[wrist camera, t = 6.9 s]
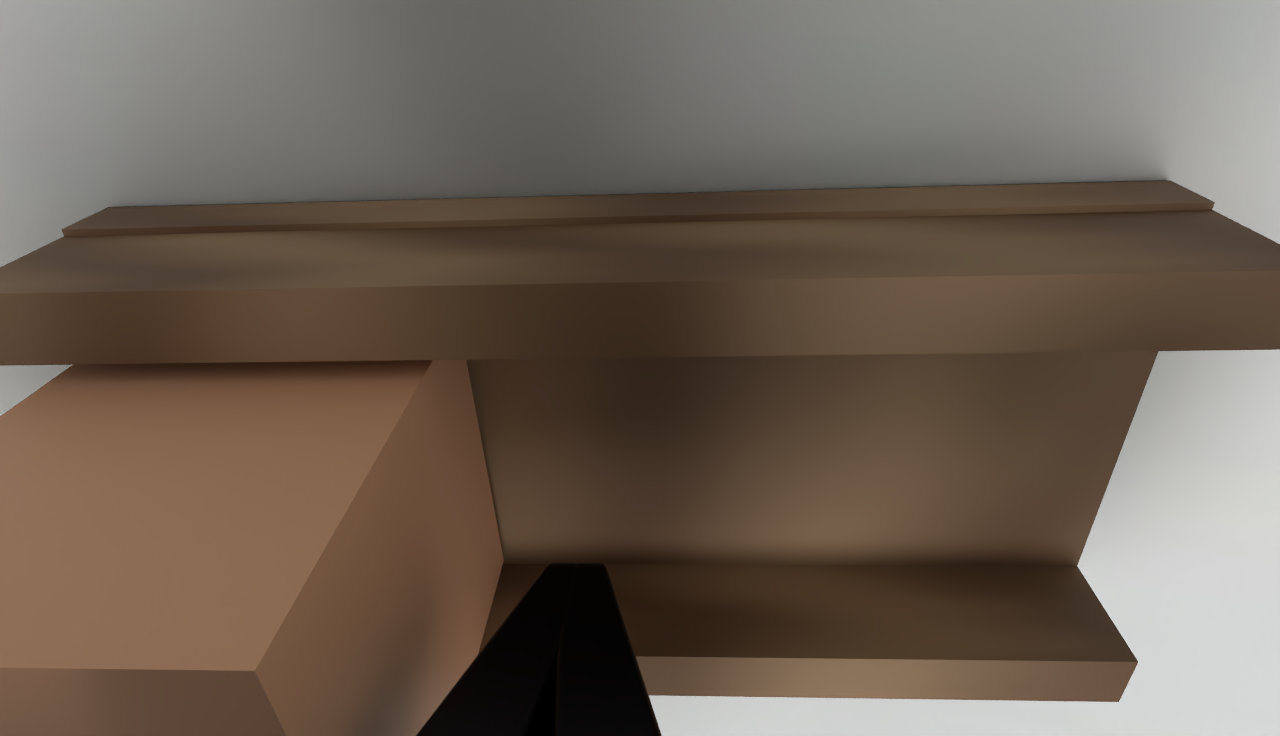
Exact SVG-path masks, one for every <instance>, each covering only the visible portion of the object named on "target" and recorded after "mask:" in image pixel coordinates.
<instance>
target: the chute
mask: <svg viewBox="0 0 1280 736" xmlns="http://www.w3.org/2000/svg"><path fill="white" fill-rule="evenodd" d="M1214 203H1215V202H1213V201H1211V200H1209V199H1207V198H1205V197H1203V196H1200V195H1198V194H1196V193H1194V192H1192V191H1190V190H1188V189H1186V188H1184V187H1182V186H1180V185H1178V184H1176V183H1174V182H1172V181H1132V182H1093V183H1053V184H1014V185H974V186H935V187H895V188H856V189H816V190H777V191H738V192H698V193H659V194H619V195H580V196H540V197H501V198H461V199H422V200H382V201H343V202H303V203H264V204H224V205H185V206H145V207H108V208H106V209H104V210H102V211H100V212H98V213H95V214H93V215H91V216H89V217H87V218H85V219H83V220H81V221H79V222H77V223H74V224H72V225H70V226H68V227H66V228H64V229H62V232H63V234H64V237H62V238H60V239H58V240H56V241H54V242H52V243H50V244H48V245H46V246H44V247H42V248H40V249H38V250H35V251H33V252H31V253H29V254H27V255H25V256H23V257H21V258H19V259H17V260H15V261H13V262H11V263H9V264H7V265H5V266H3V267H1V268H0V365H70V364H150V363H230V362H310V361H390V360H466V361H467V367H468V372H469V377H470V382H471V388H472V393H473V398H474V404H475V409H476V414H477V420H478V425H479V430H480V436H481V441H482V446H483V452H484V457H485V462H486V468H487V473H488V478H489V483H490V489H491V494H492V499H493V505H494V510H495V515H496V521H497V526H498V531H499V537H500V542H501V547H502V553H503V558H504V562H503V565H502V569H501V573H500V576H499V580H498V584H497V587H496V591H495V595H494V598H493V602H492V605H491V609H490V613H489V616H488V620H487V624H486V627H485V631H484V634H483V638H482V642H481V645H480V649H479V653H480V651H481V650H482V649H483V648H484V646H485V645H486V644H487V642H488V641H489V640H490V638H491V637H492V636H493V635H494V633H495V632H496V631H497V629H498V628H499V627H500V625H501V624H502V623H503V621H504V620H505V619H506V618H507V616H508V615H509V614H510V612H511V611H512V610H513V608H514V607H515V606H516V605H517V603H518V602H519V601H520V599H521V598H522V597H523V595H524V594H525V593H526V592H527V590H528V589H529V588H530V586H531V585H532V584H533V582H534V581H535V580H536V578H537V577H538V576H539V575H540V573H541V572H542V571H543V569H544V568H545V567H546V566H547V565H548V564H549V563H551V562H577V563H578V562H602V563H604V564H605V565H606V566H607V569H608V572H609V575H610V578H611V581H612V584H613V587H614V591H615V594H616V597H617V600H618V603H619V606H620V609H621V612H622V615H623V618H624V621H625V625H626V628H627V631H628V634H629V637H630V640H631V643H632V646H633V649H634V652H635V655H636V659H637V662H638V665H639V668H640V671H641V674H642V677H643V680H644V683H645V686H646V689H647V693H648V695H672V696H743V697H814V698H885V699H957V700H1028V701H1099V702H1119V700H1120V698H1121V696H1122V694H1123V692H1124V690H1125V688H1126V686H1127V684H1128V682H1129V680H1130V678H1131V676H1132V674H1133V672H1134V670H1135V667H1136V665H1137V663H1138V661H1137V659H1136V658H1135V656H1134V655H1133V653H1132V652H1131V650H1130V648H1129V647H1128V645H1127V644H1126V642H1125V641H1124V639H1123V637H1122V636H1121V634H1120V633H1119V631H1118V630H1117V628H1116V626H1115V625H1114V623H1113V622H1112V620H1111V619H1110V617H1109V615H1108V614H1107V612H1106V611H1105V609H1104V608H1103V606H1102V605H1101V603H1100V601H1099V600H1098V598H1097V597H1096V595H1095V594H1094V592H1093V590H1092V589H1091V587H1090V586H1089V584H1088V583H1087V581H1086V579H1085V578H1084V576H1083V575H1082V573H1081V572H1080V570H1079V568H1078V567H1077V565H1078V562H1079V559H1080V557H1081V554H1082V551H1083V549H1084V546H1085V543H1086V541H1087V538H1088V535H1089V533H1090V530H1091V528H1092V525H1093V522H1094V520H1095V517H1096V514H1097V512H1098V509H1099V506H1100V504H1101V501H1102V499H1103V496H1104V493H1105V491H1106V488H1107V485H1108V483H1109V480H1110V477H1111V475H1112V472H1113V469H1114V467H1115V464H1116V462H1117V459H1118V456H1119V454H1120V451H1121V448H1122V446H1123V443H1124V440H1125V438H1126V435H1127V433H1128V430H1129V427H1130V425H1131V422H1132V419H1133V417H1134V414H1135V411H1136V409H1137V406H1138V404H1139V401H1140V398H1141V396H1142V393H1143V390H1144V388H1145V385H1146V382H1147V380H1148V377H1149V374H1150V372H1151V369H1152V367H1153V364H1154V361H1155V359H1156V356H1157V353H1158V351H1191V350H1271V349H1280V244H1278V243H1276V242H1274V241H1272V240H1270V239H1268V238H1266V237H1264V236H1262V235H1260V234H1258V233H1256V232H1254V231H1252V230H1251V229H1249V228H1247V227H1245V226H1243V225H1241V224H1239V223H1237V222H1235V221H1233V220H1231V219H1229V218H1227V217H1225V216H1223V215H1221V214H1219V213H1217V212H1215V211H1213V210H1212V208H1213V206H1214ZM479 653H478V654H479Z"/></svg>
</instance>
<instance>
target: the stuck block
mask: <svg viewBox="0 0 1280 736" xmlns="http://www.w3.org/2000/svg"><path fill="white" fill-rule="evenodd" d="M503 562H504V558H503V553H502V547H501V542H500V537H499V531H498V526H497V521H496V515H495V510H494V505H493V499H492V494H491V489H490V483H489V478H488V473H487V468H486V462H485V457H484V452H483V446H482V441H481V436H480V430H479V425H478V420H477V414H476V409H475V404H474V398H473V393H472V388H471V382H470V377H469V372H468V367H467V361H466V360H390V361H310V362H230V363H150V364H73V365H72V366H71V367H69V368H68V369H66V370H65V371H64V372H62V373H61V374H59V375H58V376H57V377H55V378H54V379H52V380H51V381H50V382H48V383H47V384H45V385H44V386H43V387H41V388H40V389H38V390H37V391H35V392H34V393H33V394H31V395H30V396H28V397H27V398H26V399H24V400H23V401H21V402H20V403H19V404H17V405H16V406H14V407H13V408H12V409H10V410H9V411H7V412H6V413H4V414H3V415H2V416H0V736H416V735H417V734H418V732H419V731H420V730H421V728H422V727H423V726H424V724H425V723H426V722H427V721H428V719H429V718H430V717H431V715H432V714H433V713H434V711H435V710H436V709H437V708H438V706H439V705H440V704H441V702H442V701H443V700H444V698H445V697H446V696H447V694H448V693H449V692H450V691H451V689H452V688H453V687H454V685H455V684H456V683H457V681H458V680H459V679H460V678H461V676H462V675H463V674H464V672H465V671H466V670H467V668H468V667H469V666H470V665H471V663H472V662H473V661H474V659H475V658H476V657H477V655H478V653H479V649H480V645H481V642H482V638H483V634H484V631H485V627H486V624H487V620H488V616H489V613H490V609H491V605H492V602H493V598H494V595H495V591H496V587H497V584H498V580H499V576H500V573H501V569H502V565H503Z"/></svg>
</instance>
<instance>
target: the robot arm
mask: <svg viewBox="0 0 1280 736" xmlns="http://www.w3.org/2000/svg"><path fill="white" fill-rule="evenodd" d="M416 736H661V733H660V730H659V727H658V723H657V720H656V717H655V714H654V711H653V708H652V705H651V702H650V699H649V696H648V693H647V689H646V686H645V683H644V680H643V677H642V674H641V671H640V668H639V665H638V662H637V659H636V655H635V652H634V649H633V646H632V643H631V640H630V637H629V634H628V631H627V628H626V625H625V621H624V618H623V615H622V612H621V609H620V606H619V603H618V600H617V597H616V594H615V591H614V587H613V584H612V581H611V578H610V575H609V572H608V569H607V566H606V565H605V564H604V563H602V562H578V563H577V562H551V563H549V564H548V565H547V566H546V567H545V568H544V569H543V571H542V572H541V573H540V575H539V576H538V577H537V578H536V580H535V581H534V582H533V584H532V585H531V586H530V588H529V589H528V590H527V592H526V593H525V594H524V595H523V597H522V598H521V599H520V601H519V602H518V603H517V605H516V606H515V607H514V608H513V610H512V611H511V612H510V614H509V615H508V616H507V618H506V619H505V620H504V621H503V623H502V624H501V625H500V627H499V628H498V629H497V631H496V632H495V633H494V635H493V636H492V637H491V638H490V640H489V641H488V642H487V644H486V645H485V646H484V648H483V649H482V650H481V651H480V653H479V654H478V655H477V657H476V658H475V659H474V661H473V662H472V663H471V665H470V666H469V667H468V668H467V670H466V671H465V672H464V674H463V675H462V676H461V678H460V679H459V680H458V681H457V683H456V684H455V685H454V687H453V688H452V689H451V691H450V692H449V693H448V694H447V696H446V697H445V698H444V700H443V701H442V702H441V704H440V705H439V706H438V708H437V709H436V710H435V711H434V713H433V714H432V715H431V717H430V718H429V719H428V721H427V722H426V723H425V724H424V726H423V727H422V728H421V730H420V731H419V732H418V734H417V735H416Z"/></svg>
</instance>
